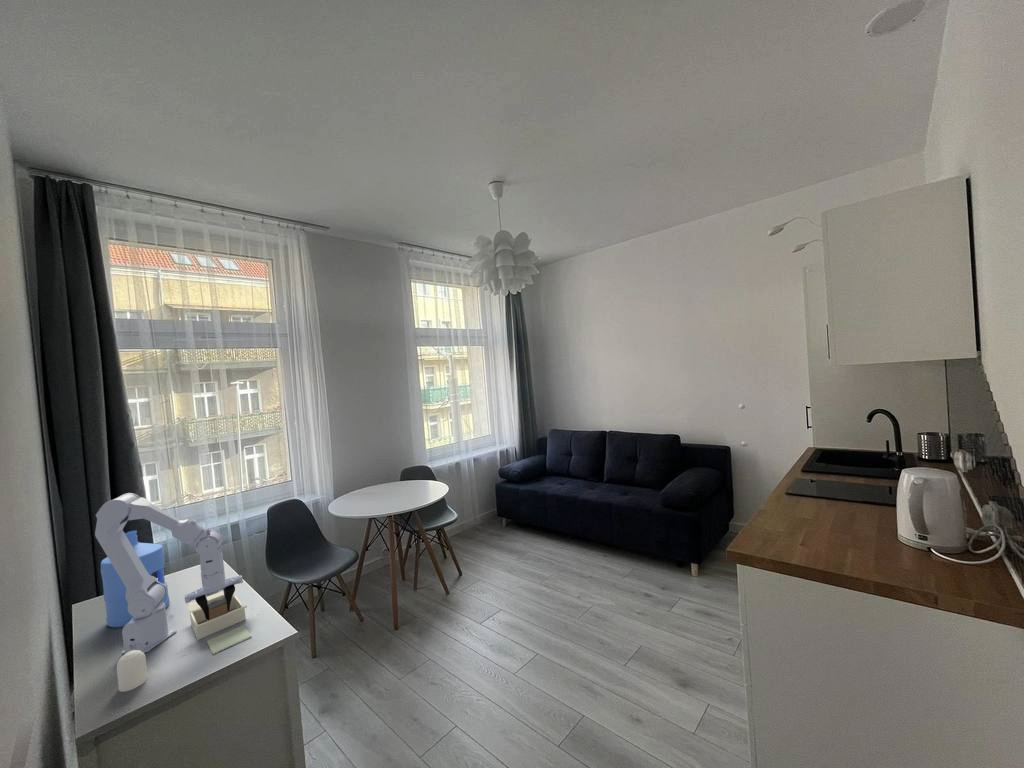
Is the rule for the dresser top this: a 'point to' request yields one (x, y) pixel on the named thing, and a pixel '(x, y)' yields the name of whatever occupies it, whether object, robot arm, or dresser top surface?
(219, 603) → the walnut block
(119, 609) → the water jug
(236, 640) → the mat
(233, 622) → the carton
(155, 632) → the robot arm
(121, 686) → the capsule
